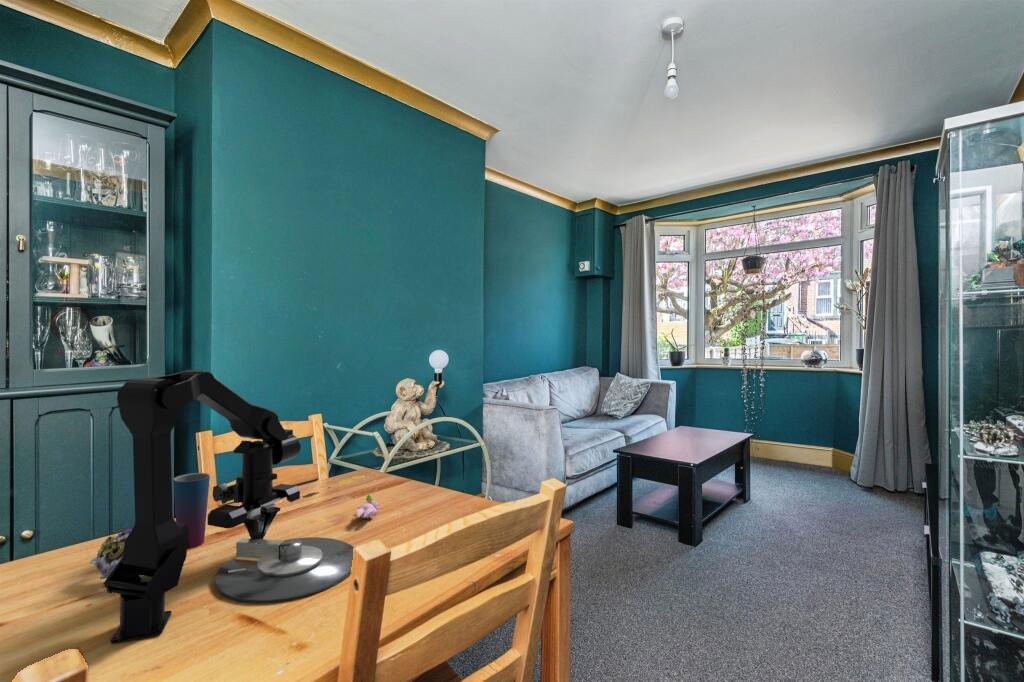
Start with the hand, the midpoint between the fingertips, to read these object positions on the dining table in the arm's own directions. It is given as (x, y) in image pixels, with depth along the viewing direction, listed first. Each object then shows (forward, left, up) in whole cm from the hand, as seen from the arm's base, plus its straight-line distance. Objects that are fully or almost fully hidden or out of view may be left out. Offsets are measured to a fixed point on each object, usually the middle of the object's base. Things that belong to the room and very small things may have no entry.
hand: (257, 545), depth 102 cm
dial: (-5, -4, -2) cm, 7 cm away
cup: (+14, +14, -3) cm, 20 cm away
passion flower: (0, +21, -3) cm, 21 cm away
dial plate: (-6, -7, -3) cm, 10 cm away
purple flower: (+18, -24, -4) cm, 30 cm away
